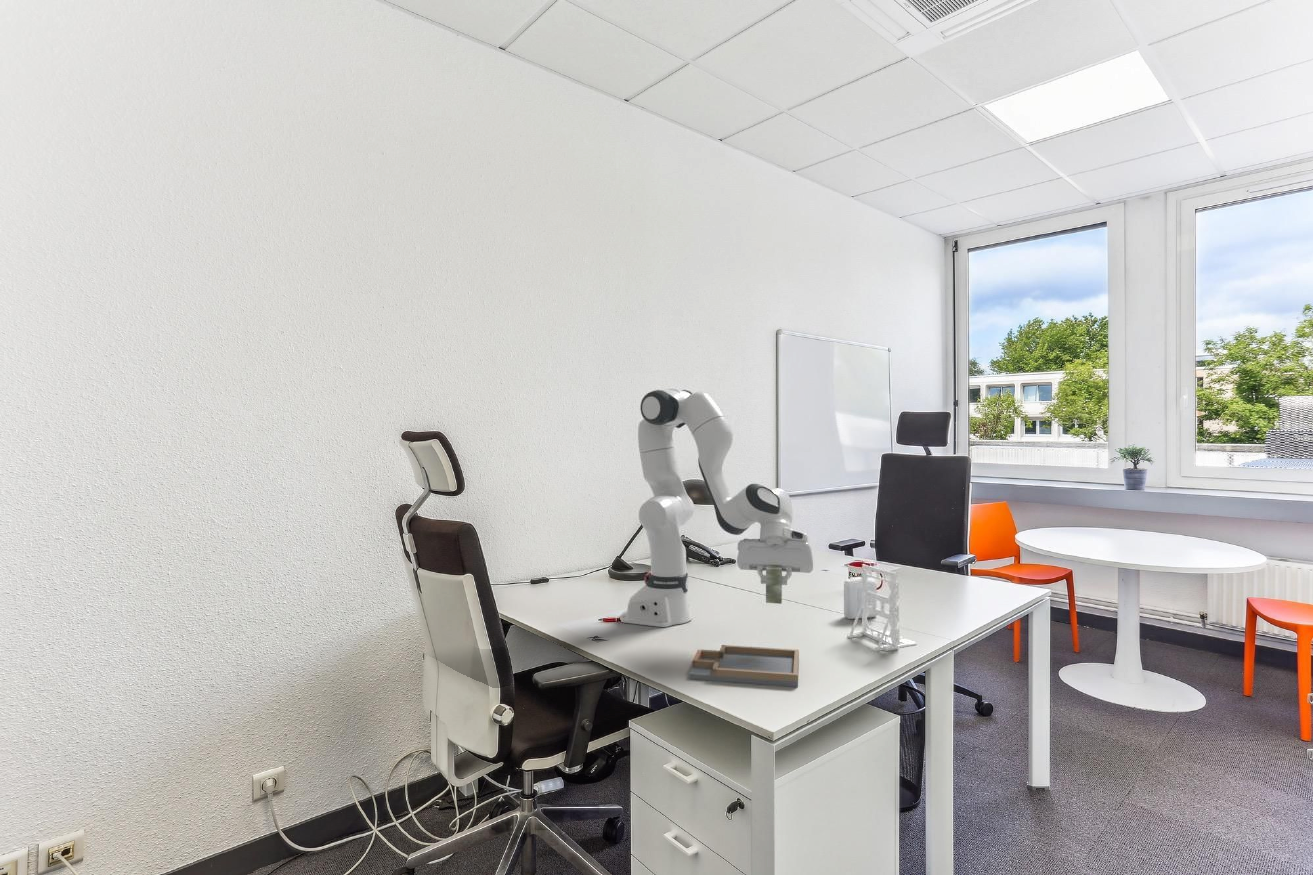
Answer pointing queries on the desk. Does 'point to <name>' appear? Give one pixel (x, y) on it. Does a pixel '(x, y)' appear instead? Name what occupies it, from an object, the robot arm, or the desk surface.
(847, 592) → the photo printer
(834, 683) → the desk surface
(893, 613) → the white perforated frame
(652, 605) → the robot arm
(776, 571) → the green peg
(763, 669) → the keyhole dock
